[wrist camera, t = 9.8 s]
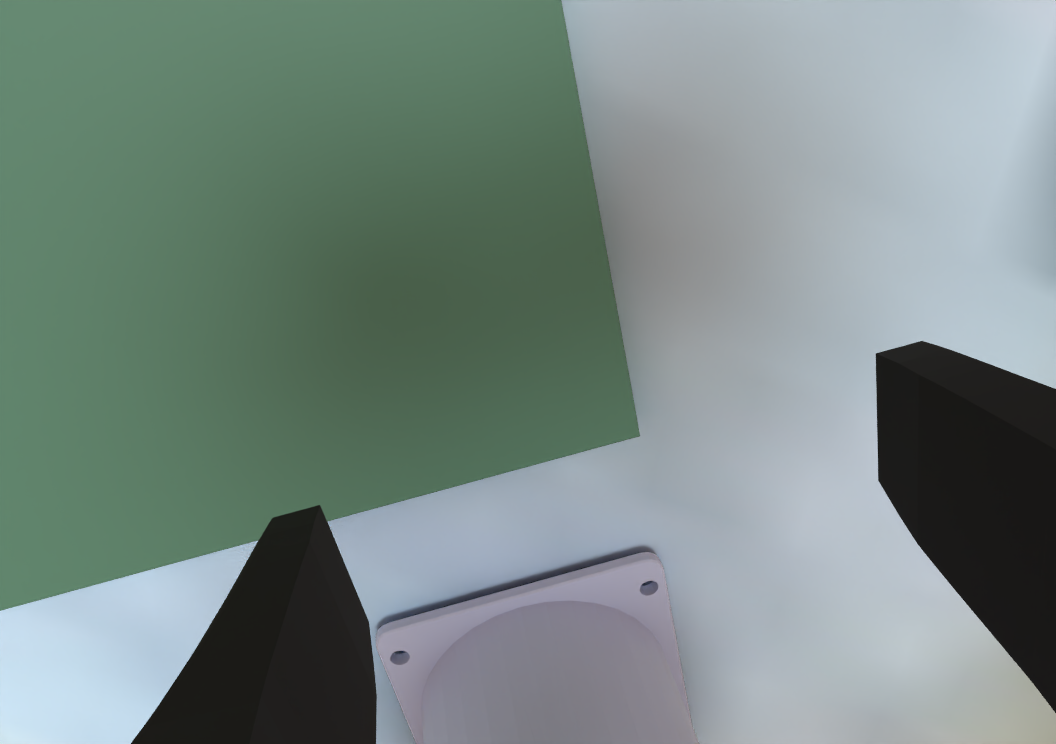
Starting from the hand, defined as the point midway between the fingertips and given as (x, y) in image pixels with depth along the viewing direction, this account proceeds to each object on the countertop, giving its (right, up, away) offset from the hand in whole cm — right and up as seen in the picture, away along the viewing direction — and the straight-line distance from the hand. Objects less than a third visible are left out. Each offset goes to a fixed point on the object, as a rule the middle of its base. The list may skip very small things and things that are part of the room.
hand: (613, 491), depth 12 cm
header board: (-12, +6, +6) cm, 15 cm away
